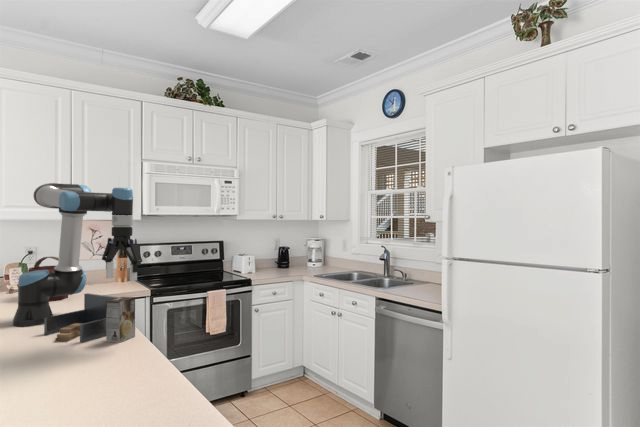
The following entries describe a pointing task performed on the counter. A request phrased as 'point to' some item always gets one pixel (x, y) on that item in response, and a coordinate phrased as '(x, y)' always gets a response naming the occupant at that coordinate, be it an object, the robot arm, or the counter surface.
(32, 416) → the counter surface
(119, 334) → the coffee box
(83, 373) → the counter surface
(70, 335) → the offcut stack
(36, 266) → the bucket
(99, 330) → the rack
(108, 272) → the robot arm
